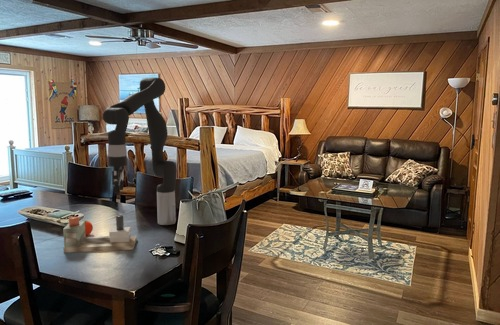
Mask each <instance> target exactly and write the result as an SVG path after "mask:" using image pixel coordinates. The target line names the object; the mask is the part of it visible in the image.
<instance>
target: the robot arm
mask: <svg viewBox="0 0 500 325" xmlns="http://www.w3.org/2000/svg"><path fill="white" fill-rule="evenodd" d="M165 91H166V83H165V81H164V80H163V79H162V78H161V77H145V78H144V77H143V78H142V79H140V82H139V91H138V92H137V91H136V92H135V93H132V94H130V95H128V96H127V97H126V98H123V100H121V101H120V102H116V103H114V104H111V105H110V106H108V107H107V108H106V109H104V111H103V113H102V119H103V121H104V123H106V124H107V125H115V128H114V129H112V130H109V131H108V132H107V144H108V146H107V157H108V158H107V159H108V160H107V161H108V166H109V167H112V168H113V170H112V171H111V173H112V174H111V176H112V180H111V182H112V183H111V184H112V186H113V190H114V195H120V194H121V191H123V190H124V180H125V173H124V172H125V169H124V168H125V166H127V165H128V156H127V155H128V154H127V153H128V151H127V145H126V144H127V143H126V133H127V129H128V126H129V120H130V116H131V115H133V114H134V113H135V112H137V111H138V110H139V109H140V108H142V107H144V111H145V118H146V123H147V124H146V125H147V130H148V136H149V142H150V148H151V149H150V151H151V161H152V163H151V164H152V172H153V174H154V176H155V177H157V178H160V179H161V178H162V180H163V181H162V183H160V184H158V185H156V209H157V210H156V212H157V214H156V215H157V224H158V225H161V226H168V225H169V226H170V225H175V224H176V193H175V192H176V189H175V188H176V186H177V173H178V171H177V165H176V163H175V162H174V161H171V160H165V158H164V147H165V145H166V142H167V139H168V127H167V123H166V120H165V118H164V116H163V115H162V114H161V113H160V111H159V110H158V108H157V107H156V104H155V99H157V98H160V97H162V96H163V95H164V93H166V92H165Z"/></svg>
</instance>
